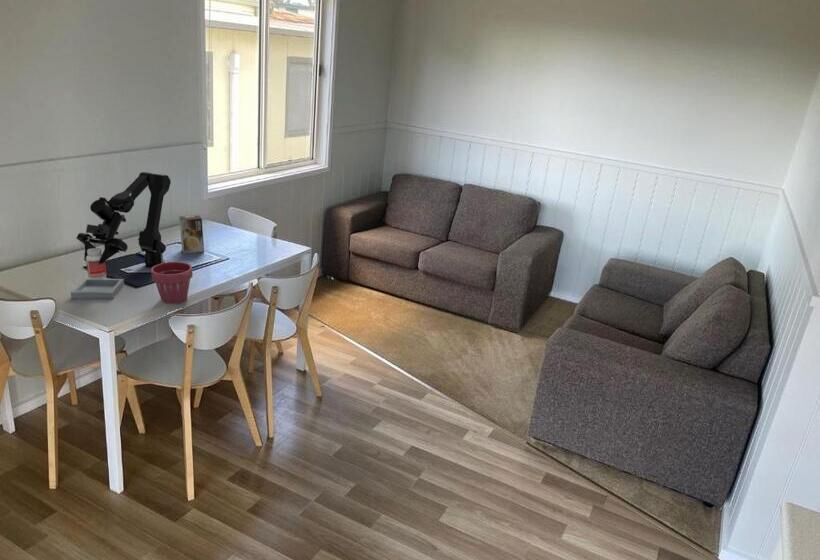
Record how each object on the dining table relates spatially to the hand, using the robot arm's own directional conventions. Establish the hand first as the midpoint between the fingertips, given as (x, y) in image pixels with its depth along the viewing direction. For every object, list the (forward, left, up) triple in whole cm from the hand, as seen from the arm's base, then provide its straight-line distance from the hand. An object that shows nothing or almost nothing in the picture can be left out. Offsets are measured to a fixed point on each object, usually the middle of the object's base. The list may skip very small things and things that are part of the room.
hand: (92, 262), depth 231 cm
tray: (0, -1, -12) cm, 12 cm away
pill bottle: (-1, -1, -7) cm, 7 cm away
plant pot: (-29, +6, -13) cm, 33 cm away
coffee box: (-25, -52, -13) cm, 59 cm away
